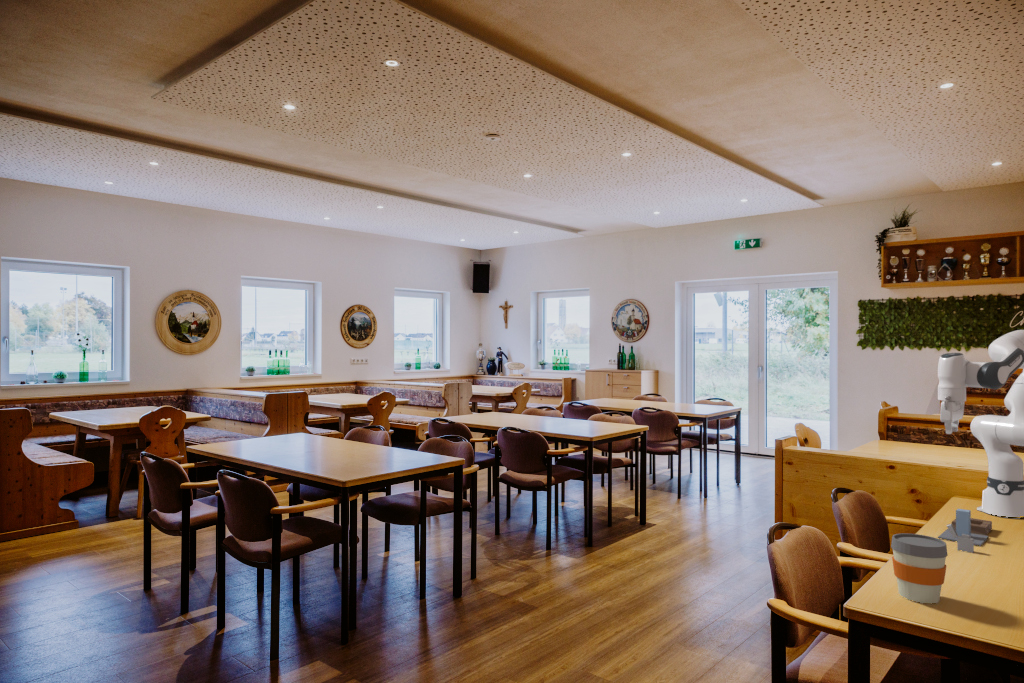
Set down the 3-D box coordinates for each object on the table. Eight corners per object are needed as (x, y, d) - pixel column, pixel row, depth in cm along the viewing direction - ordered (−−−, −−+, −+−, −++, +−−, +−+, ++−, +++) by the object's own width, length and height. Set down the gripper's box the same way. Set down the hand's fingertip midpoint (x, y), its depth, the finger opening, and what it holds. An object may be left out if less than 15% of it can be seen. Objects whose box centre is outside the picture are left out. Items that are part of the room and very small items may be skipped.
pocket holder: (958, 524, 238) (958, 516, 238) (991, 529, 231) (991, 521, 231) (951, 530, 230) (951, 522, 230) (985, 536, 223) (985, 527, 223)
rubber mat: (947, 530, 230) (947, 528, 230) (988, 537, 221) (988, 536, 221) (938, 538, 220) (938, 536, 220) (980, 546, 211) (980, 544, 211)
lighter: (973, 551, 205) (973, 527, 206) (972, 553, 204) (972, 528, 204) (947, 546, 210) (947, 522, 211) (946, 548, 209) (946, 523, 209)
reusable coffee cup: (895, 584, 176) (895, 530, 176) (950, 596, 168) (950, 539, 168) (887, 598, 166) (887, 540, 167) (944, 611, 158) (944, 550, 159)
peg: (958, 534, 223) (958, 508, 223) (970, 536, 220) (970, 510, 220) (955, 536, 220) (955, 510, 221) (968, 538, 218) (968, 512, 218)
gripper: (955, 397, 230) (955, 436, 230) (967, 395, 244) (967, 431, 244) (935, 396, 234) (935, 434, 234) (947, 394, 249) (947, 429, 249)
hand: (951, 432), depth 239 cm, fingers open, 8 cm apart
